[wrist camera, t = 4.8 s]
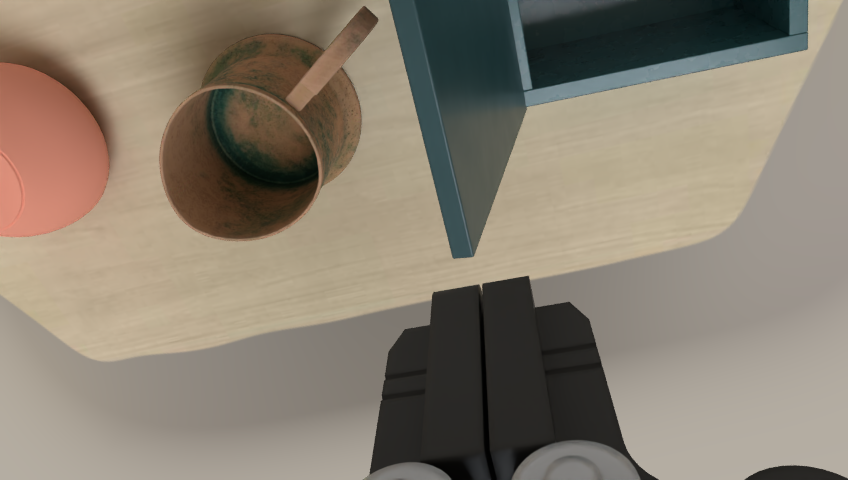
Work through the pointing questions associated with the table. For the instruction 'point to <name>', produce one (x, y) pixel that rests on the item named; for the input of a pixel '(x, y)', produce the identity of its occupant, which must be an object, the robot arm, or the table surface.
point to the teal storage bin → (644, 40)
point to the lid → (463, 103)
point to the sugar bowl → (46, 154)
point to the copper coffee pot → (263, 134)
